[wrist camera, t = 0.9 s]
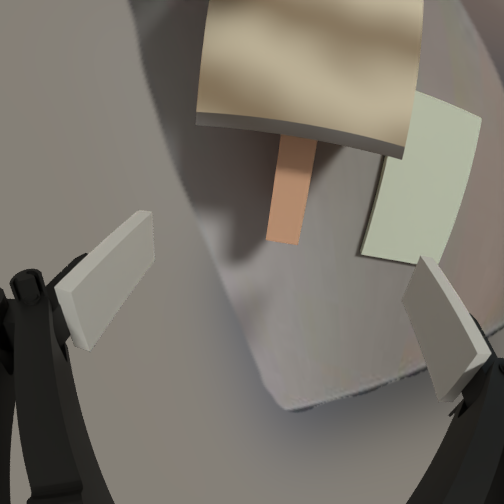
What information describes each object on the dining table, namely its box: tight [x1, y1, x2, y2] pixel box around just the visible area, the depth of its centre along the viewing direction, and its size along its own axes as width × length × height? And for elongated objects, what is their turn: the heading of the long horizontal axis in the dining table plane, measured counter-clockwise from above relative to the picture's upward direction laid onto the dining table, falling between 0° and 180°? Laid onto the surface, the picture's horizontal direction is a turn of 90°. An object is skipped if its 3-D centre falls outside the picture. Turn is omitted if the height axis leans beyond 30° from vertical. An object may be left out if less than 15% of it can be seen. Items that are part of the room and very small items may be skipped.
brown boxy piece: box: [195, 0, 423, 160], centre depth 17 cm, size 15×12×12 cm
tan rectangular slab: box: [266, 134, 317, 245], centre depth 22 cm, size 16×2×9 cm, turn 174°
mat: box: [360, 91, 482, 265], centre depth 26 cm, size 18×10×1 cm, turn 174°
